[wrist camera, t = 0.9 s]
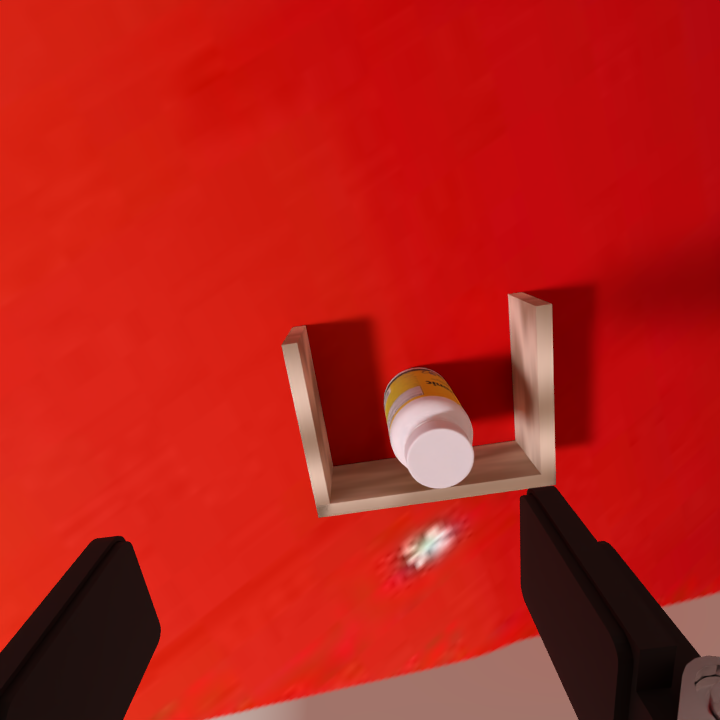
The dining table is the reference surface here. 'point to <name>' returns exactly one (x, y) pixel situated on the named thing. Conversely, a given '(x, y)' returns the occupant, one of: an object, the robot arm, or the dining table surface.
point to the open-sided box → (491, 462)
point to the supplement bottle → (428, 428)
